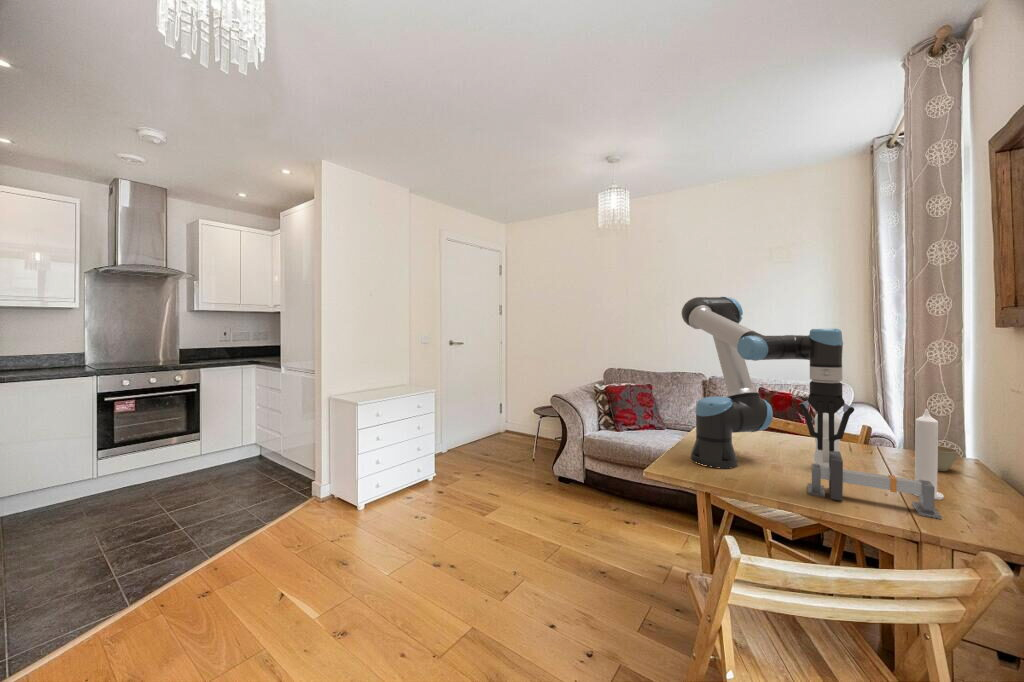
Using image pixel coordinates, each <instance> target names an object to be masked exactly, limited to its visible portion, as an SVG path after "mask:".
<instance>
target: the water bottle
mask: <svg viewBox="0 0 1024 682" xmlns="http://www.w3.org/2000/svg"><path fill="white" fill-rule="evenodd" d="M841 420H842V419H841V418H840V416H839V414H838V413H837V412H836V413H834V435H835V434H837V432H838V429H839V426H840V423H841ZM814 431H815V432H816V433H818V412H817V413H816V414H815V416H814ZM823 438H825V439H829V415H828V413H823ZM814 440H815V449H814V454H813V462H814V463H813V464H819V465H820V466H826V467H829V463H824V462H823V461H822V450H818V439H817V438H816V437H814ZM841 441H842V439H838V440H835V441H834V451H839V452H840V443H841Z"/></svg>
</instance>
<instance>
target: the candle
mask: <svg viewBox="0 0 1024 682" xmlns="http://www.w3.org/2000/svg"><path fill="white" fill-rule="evenodd" d="M914 427H915V429H914V430H915V435H914V436H915V437H914V439H915V442H914V480H918V481H919V480H925V481H930V482H931V484H932V485H933V486H934V487H935V489H934V500H937V501H938V500H943V499H944V496H945V495H944V494H943V493H941V492H938V471H937V466H938V446H939V421H938V420H937V419H935V418H934V417H932V416H931V414H930V411H929V409H928V408H925V410H924V412H923V414H922V415H921V416H919V417H917V418H915V426H914ZM912 495H914V496H916V497H919V495H916V494H912Z"/></svg>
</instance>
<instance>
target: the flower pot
mask: <svg viewBox="0 0 1024 682" xmlns="http://www.w3.org/2000/svg"><path fill="white" fill-rule="evenodd" d="M958 455H959V451H958V450H957V449H955V448H952V447H949V446H943V445H938V466H937V472H948V470H950V469H951V468H952V466H953V465H954V464H955V462H956V460H957V458H958Z"/></svg>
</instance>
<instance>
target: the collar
mask: <svg viewBox="0 0 1024 682" xmlns="http://www.w3.org/2000/svg"><path fill="white" fill-rule="evenodd" d="M842 457H843V456H842V454H841V451H840V450H839V451H833V452H832V451H829V467H831V480H828V487H829V495H830V499H831V500H835V501H841V502H843V491H844V490H843V488H844V487H843V483H844V482H843V469H844V468H843V467H844V465H843V464H844V462H843V458H842Z"/></svg>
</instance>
